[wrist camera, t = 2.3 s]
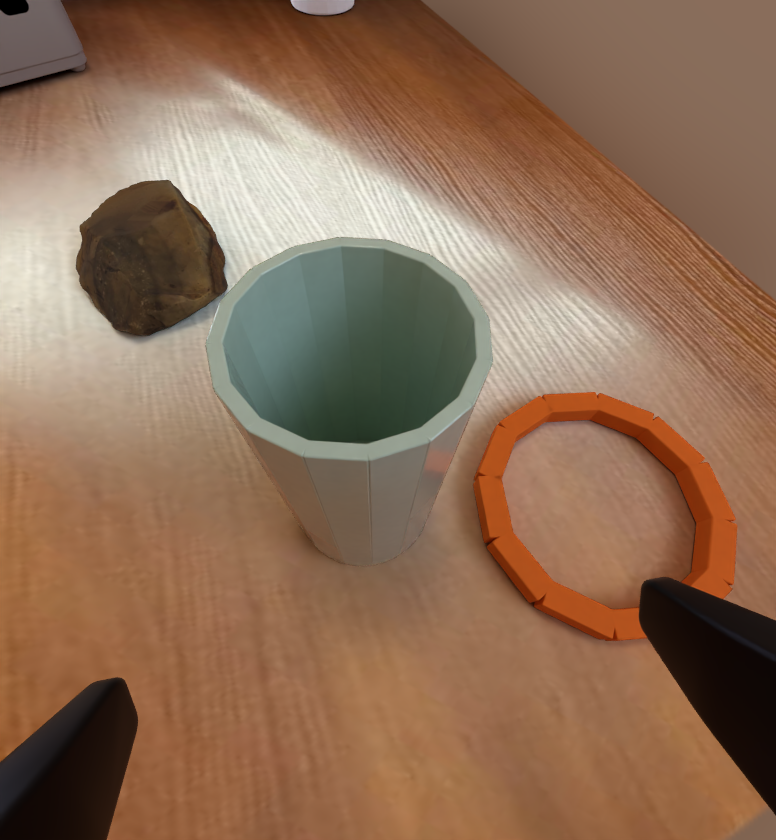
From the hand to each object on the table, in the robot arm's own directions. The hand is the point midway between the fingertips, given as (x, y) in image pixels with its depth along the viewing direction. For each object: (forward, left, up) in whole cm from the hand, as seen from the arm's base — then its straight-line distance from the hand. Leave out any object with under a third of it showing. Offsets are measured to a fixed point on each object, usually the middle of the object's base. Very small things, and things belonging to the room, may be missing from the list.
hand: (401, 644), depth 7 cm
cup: (+6, +4, -13) cm, 14 cm away
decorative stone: (+14, +24, -13) cm, 30 cm away
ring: (+11, -7, -13) cm, 18 cm away
